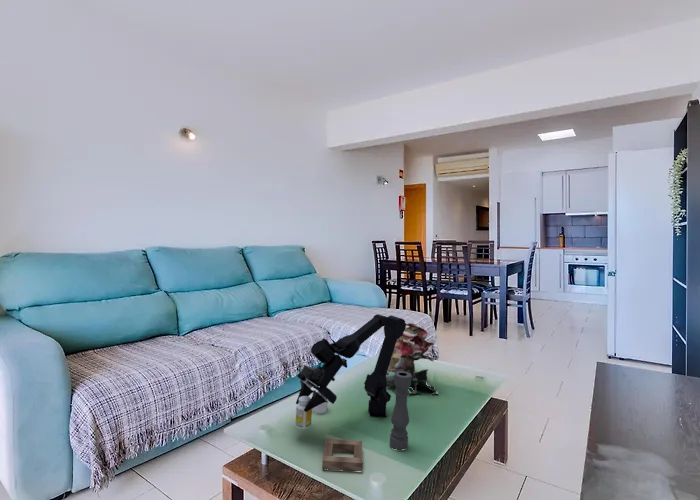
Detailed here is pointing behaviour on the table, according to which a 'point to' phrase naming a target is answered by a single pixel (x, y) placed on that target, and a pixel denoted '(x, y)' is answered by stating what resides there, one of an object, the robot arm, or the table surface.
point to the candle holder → (400, 411)
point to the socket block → (342, 462)
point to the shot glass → (320, 407)
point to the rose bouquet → (410, 357)
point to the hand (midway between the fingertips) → (300, 407)
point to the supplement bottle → (303, 413)
